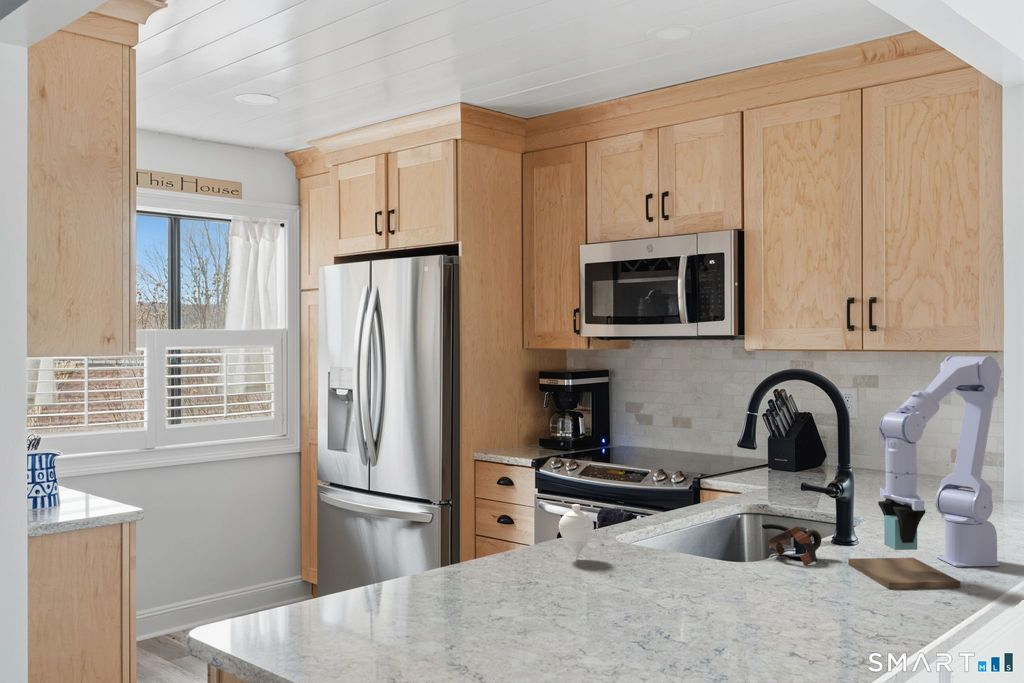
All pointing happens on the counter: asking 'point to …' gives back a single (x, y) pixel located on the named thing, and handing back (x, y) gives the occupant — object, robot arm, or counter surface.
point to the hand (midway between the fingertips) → (901, 539)
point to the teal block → (896, 535)
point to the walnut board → (903, 573)
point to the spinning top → (576, 529)
